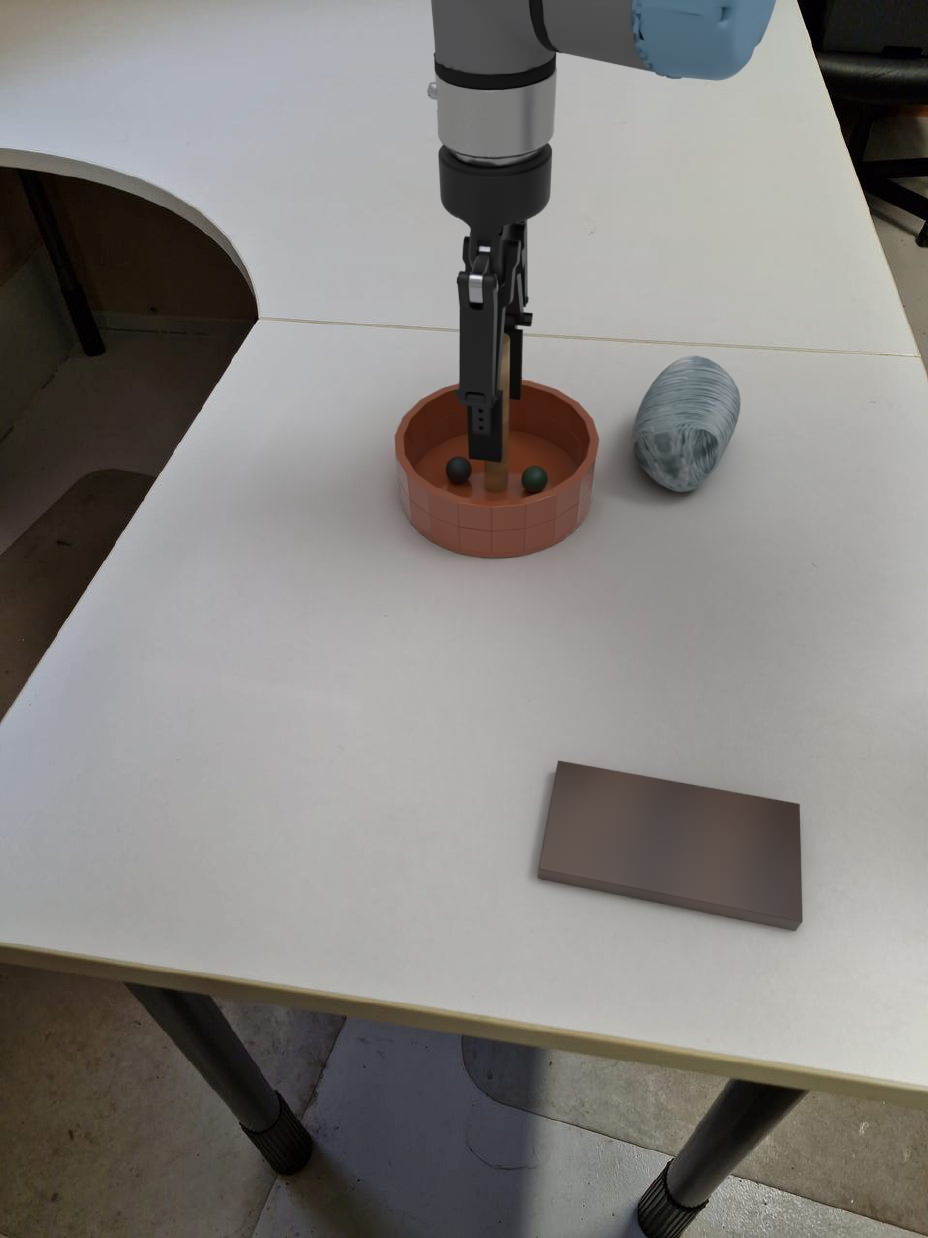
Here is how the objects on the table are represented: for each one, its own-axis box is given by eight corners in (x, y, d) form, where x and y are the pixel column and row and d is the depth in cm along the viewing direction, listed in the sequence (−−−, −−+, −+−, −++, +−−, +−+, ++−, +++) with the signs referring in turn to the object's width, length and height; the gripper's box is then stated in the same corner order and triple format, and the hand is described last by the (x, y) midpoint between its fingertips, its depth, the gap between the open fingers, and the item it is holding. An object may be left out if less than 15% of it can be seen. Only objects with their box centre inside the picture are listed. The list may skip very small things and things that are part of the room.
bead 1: (474, 472, 80) (474, 452, 78) (469, 489, 78) (468, 469, 76) (449, 469, 80) (448, 449, 78) (443, 486, 78) (442, 466, 77)
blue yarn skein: (732, 494, 73) (705, 381, 69) (628, 510, 78) (598, 405, 74) (766, 437, 82) (744, 334, 78) (671, 454, 88) (646, 359, 84)
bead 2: (549, 482, 78) (550, 461, 77) (544, 499, 77) (545, 479, 75) (523, 479, 79) (523, 458, 77) (518, 496, 77) (519, 475, 75)
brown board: (794, 814, 57) (800, 803, 56) (796, 931, 52) (802, 922, 51) (556, 771, 60) (557, 760, 59) (537, 878, 55) (538, 868, 54)
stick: (510, 478, 79) (512, 332, 67) (505, 493, 78) (506, 347, 66) (487, 475, 79) (484, 329, 68) (482, 490, 78) (479, 345, 66)
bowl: (603, 440, 83) (609, 388, 78) (578, 571, 72) (583, 519, 67) (427, 420, 86) (423, 368, 81) (377, 543, 75) (369, 491, 70)
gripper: (473, 81, 63) (478, 353, 80) (396, 210, 50) (423, 501, 68) (574, 86, 62) (558, 361, 79) (523, 220, 49) (516, 513, 66)
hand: (496, 425), depth 73 cm, fingers open, 8 cm apart
